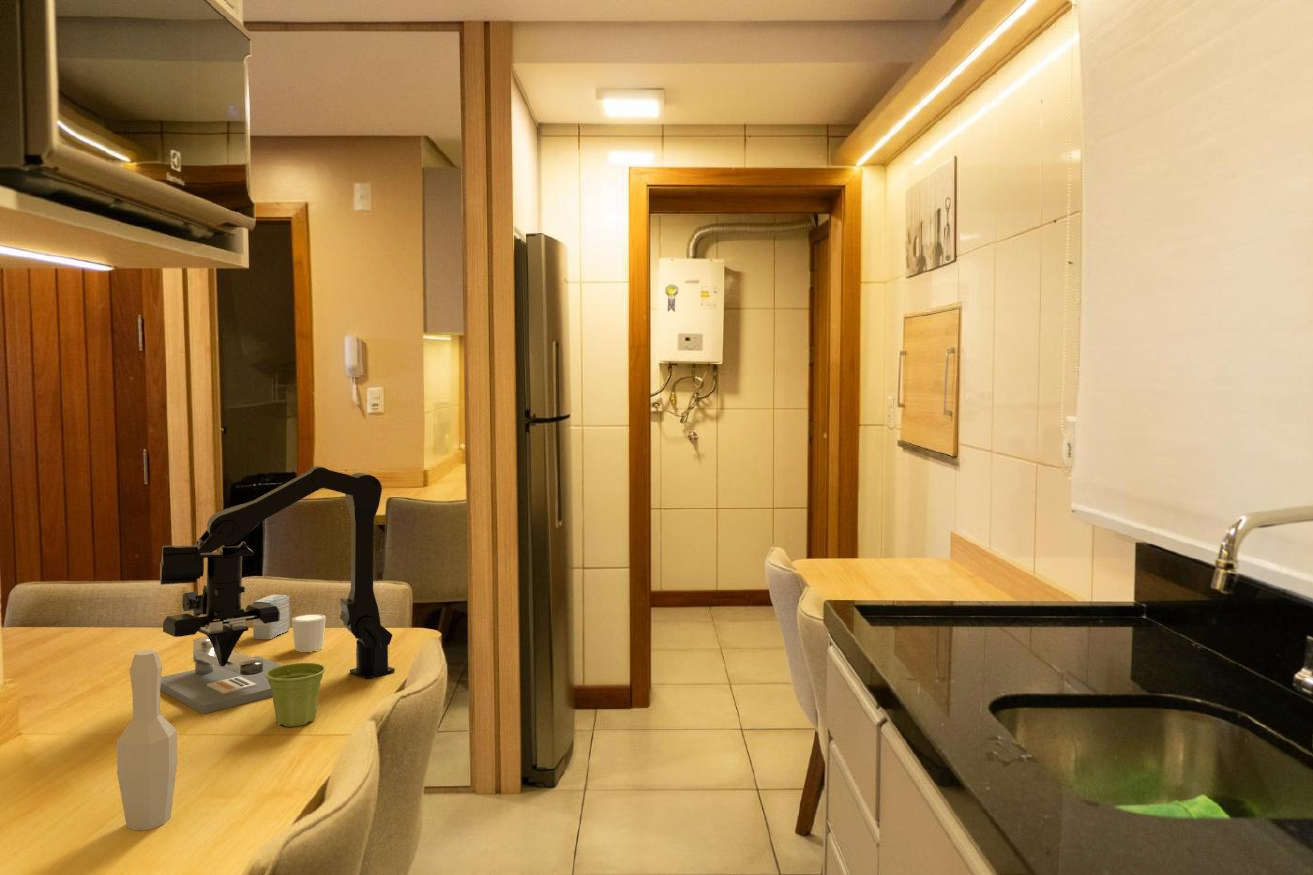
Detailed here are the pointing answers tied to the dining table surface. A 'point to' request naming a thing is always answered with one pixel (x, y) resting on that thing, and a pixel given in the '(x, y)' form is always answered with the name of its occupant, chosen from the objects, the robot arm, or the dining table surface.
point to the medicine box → (273, 628)
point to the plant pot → (295, 692)
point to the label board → (217, 686)
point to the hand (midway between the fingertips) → (222, 666)
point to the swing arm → (235, 663)
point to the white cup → (308, 632)
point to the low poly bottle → (147, 750)
